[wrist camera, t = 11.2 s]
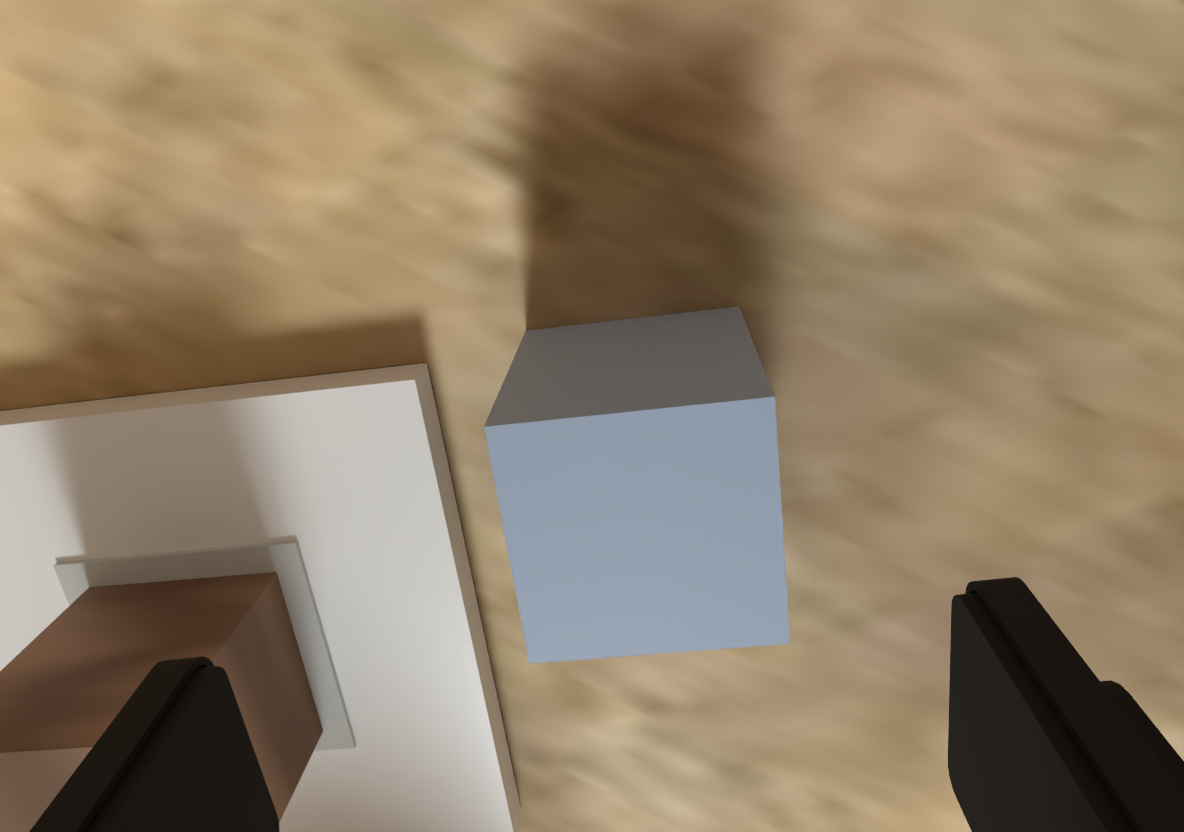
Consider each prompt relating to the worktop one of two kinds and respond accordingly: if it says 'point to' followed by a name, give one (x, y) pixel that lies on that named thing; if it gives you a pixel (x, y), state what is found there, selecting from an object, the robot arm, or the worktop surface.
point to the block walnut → (124, 658)
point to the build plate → (286, 568)
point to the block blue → (641, 488)
